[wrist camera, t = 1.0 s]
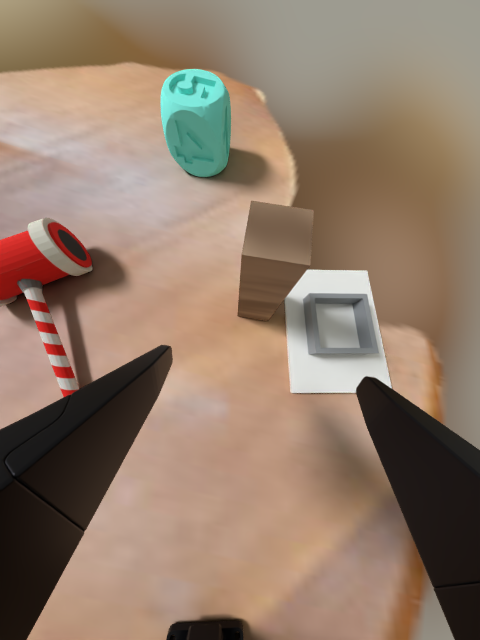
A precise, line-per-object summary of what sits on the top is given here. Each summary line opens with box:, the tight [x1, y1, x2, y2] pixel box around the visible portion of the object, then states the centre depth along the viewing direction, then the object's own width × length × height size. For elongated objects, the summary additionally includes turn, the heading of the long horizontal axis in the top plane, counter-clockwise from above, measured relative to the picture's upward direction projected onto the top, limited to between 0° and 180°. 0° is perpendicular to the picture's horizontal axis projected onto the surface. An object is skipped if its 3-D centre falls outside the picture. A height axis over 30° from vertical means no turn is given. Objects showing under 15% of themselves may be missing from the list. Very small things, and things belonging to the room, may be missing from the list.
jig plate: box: [284, 270, 392, 393], centre depth 21 cm, size 16×12×2 cm
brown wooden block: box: [238, 201, 313, 321], centre depth 17 cm, size 4×4×13 cm
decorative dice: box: [161, 69, 231, 177], centre depth 25 cm, size 8×8×8 cm
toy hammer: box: [0, 218, 93, 397], centre depth 19 cm, size 23×12×6 cm, turn 28°
